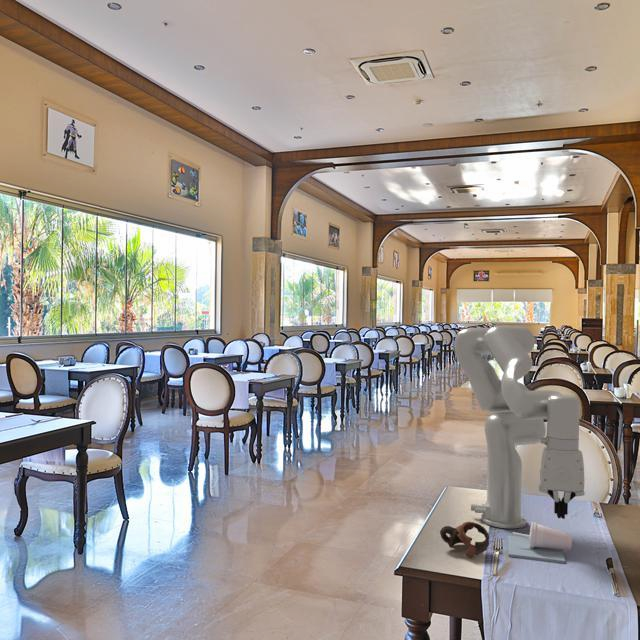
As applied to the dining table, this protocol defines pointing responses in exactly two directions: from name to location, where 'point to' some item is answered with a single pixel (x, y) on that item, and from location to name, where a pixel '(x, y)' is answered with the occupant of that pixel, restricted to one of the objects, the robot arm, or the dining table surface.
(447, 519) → the dining table surface
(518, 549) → the mat
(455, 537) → the brown twisted looped piece
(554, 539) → the smoothie
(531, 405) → the robot arm
